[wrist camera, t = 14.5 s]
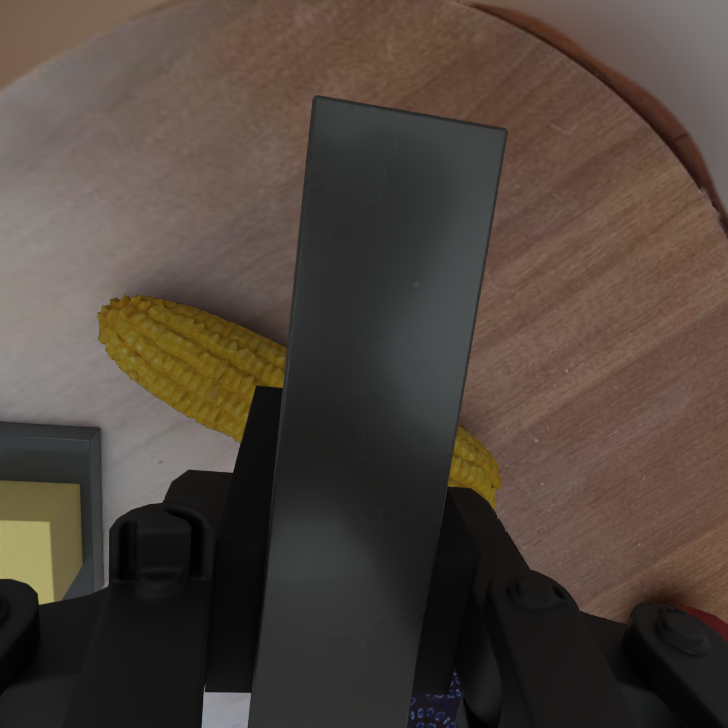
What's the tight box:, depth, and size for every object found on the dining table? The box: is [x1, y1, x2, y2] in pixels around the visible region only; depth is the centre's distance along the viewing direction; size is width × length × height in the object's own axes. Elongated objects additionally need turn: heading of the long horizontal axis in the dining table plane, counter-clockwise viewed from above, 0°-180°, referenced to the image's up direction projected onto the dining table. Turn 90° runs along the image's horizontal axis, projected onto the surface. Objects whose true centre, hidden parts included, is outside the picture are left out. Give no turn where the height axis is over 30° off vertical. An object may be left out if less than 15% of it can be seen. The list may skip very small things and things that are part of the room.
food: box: [97, 294, 502, 509], centre depth 26 cm, size 21×6×6 cm, turn 63°
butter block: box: [0, 480, 83, 605], centre depth 26 cm, size 5×5×4 cm
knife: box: [248, 95, 508, 728], centre depth 12 cm, size 23×2×7 cm, turn 172°
